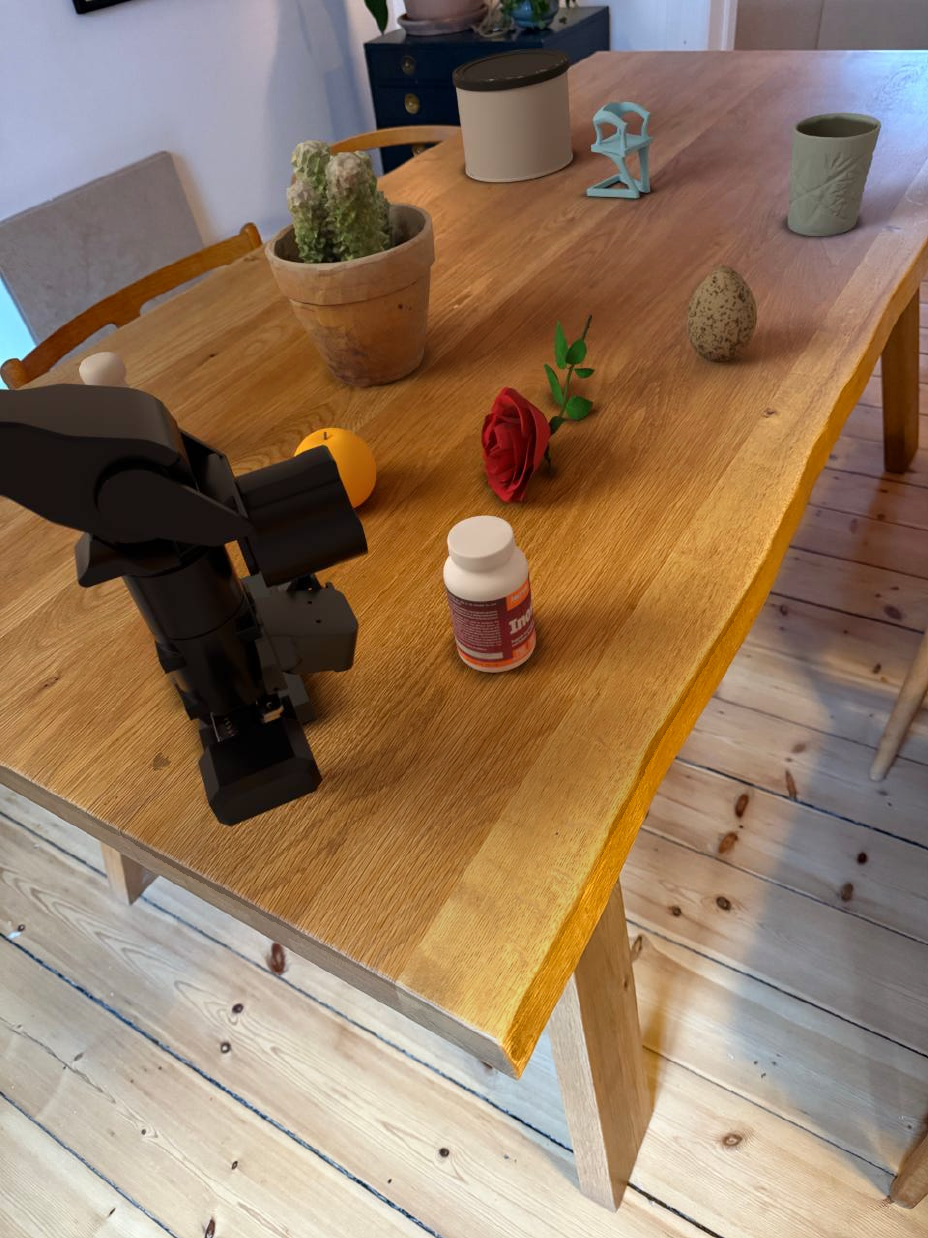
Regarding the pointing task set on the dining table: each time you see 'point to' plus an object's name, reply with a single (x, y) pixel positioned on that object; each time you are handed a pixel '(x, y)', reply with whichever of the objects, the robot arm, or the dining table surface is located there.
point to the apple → (347, 460)
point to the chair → (622, 150)
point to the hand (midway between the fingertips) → (272, 769)
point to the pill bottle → (489, 595)
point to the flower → (530, 424)
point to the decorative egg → (721, 315)
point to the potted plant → (354, 267)
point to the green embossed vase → (830, 171)
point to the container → (515, 114)
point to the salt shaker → (103, 370)
